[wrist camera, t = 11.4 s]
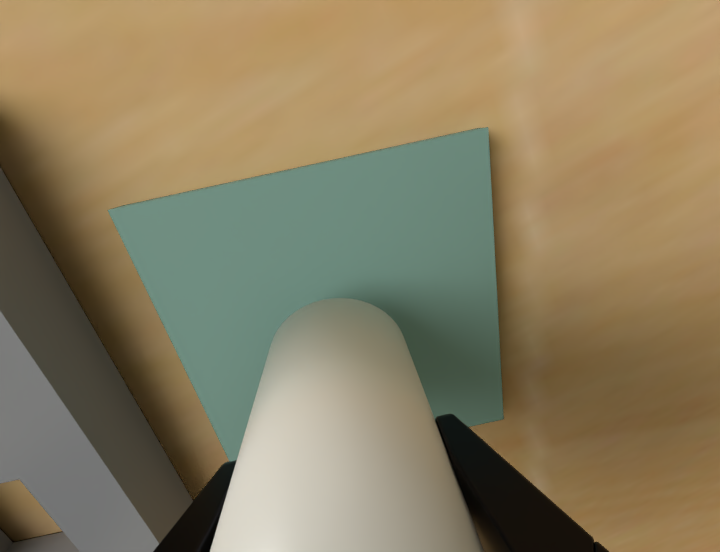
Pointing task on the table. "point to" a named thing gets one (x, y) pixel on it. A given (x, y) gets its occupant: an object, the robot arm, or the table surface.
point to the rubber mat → (330, 269)
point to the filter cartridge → (343, 446)
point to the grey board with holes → (72, 412)
